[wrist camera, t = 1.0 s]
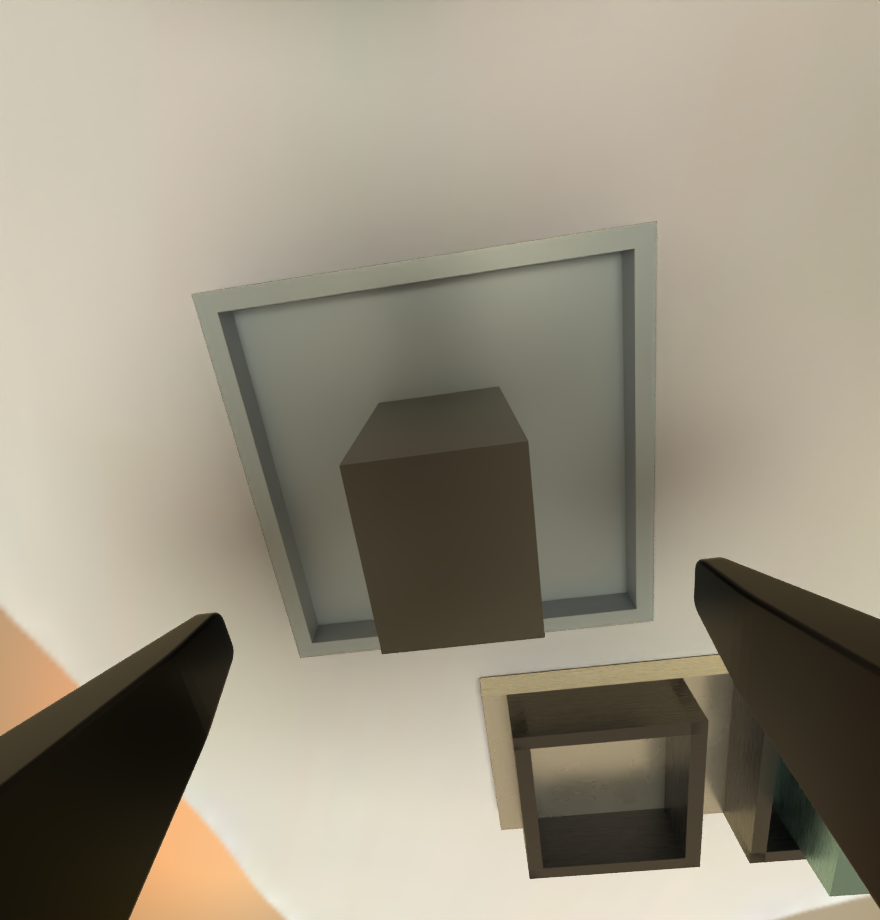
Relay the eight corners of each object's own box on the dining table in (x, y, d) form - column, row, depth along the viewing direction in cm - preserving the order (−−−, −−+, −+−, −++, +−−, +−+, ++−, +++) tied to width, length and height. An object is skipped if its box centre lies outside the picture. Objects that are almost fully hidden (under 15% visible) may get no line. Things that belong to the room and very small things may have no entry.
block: (499, 386, 15) (528, 441, 10) (512, 522, 17) (544, 637, 11) (378, 402, 16) (338, 465, 10) (403, 535, 17) (381, 654, 12)
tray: (635, 228, 14) (657, 221, 13) (636, 594, 19) (653, 620, 17) (217, 293, 15) (191, 293, 14) (311, 629, 20) (300, 657, 18)
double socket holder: (924, 634, 19) (1080, 746, 14) (890, 776, 22) (1013, 910, 17) (480, 678, 20) (490, 795, 16) (499, 807, 23) (512, 941, 18)
